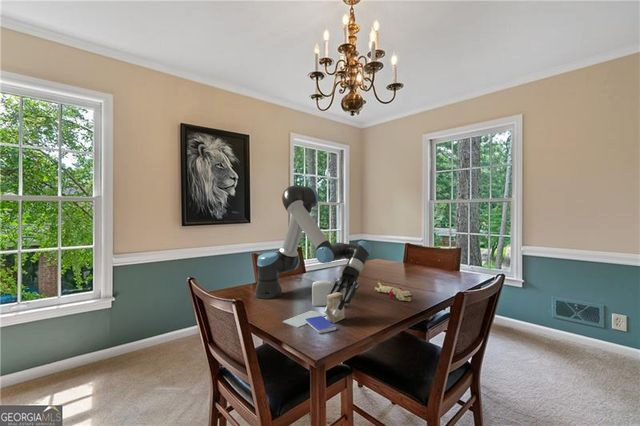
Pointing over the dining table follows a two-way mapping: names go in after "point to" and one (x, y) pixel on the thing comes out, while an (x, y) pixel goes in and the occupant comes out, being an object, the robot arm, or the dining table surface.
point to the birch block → (331, 305)
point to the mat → (302, 318)
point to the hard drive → (320, 324)
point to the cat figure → (394, 292)
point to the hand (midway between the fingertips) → (330, 314)
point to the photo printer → (320, 292)
